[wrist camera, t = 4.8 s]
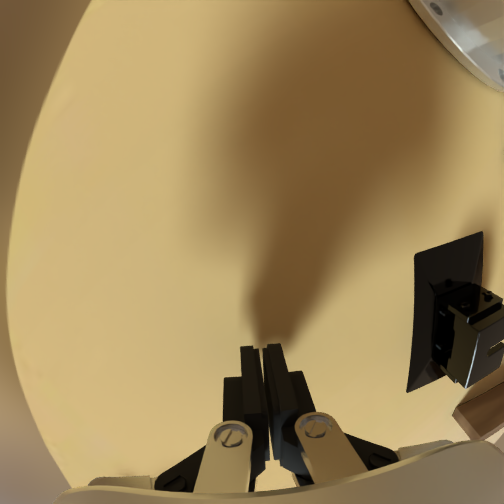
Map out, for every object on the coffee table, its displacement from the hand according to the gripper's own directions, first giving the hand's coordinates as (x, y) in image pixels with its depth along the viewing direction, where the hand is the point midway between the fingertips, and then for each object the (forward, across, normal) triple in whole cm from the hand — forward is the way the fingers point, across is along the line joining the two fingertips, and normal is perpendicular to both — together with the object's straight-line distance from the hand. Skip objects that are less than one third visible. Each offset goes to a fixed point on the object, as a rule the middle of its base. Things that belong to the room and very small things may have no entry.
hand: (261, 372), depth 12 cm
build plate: (+2, -11, 0) cm, 11 cm away
